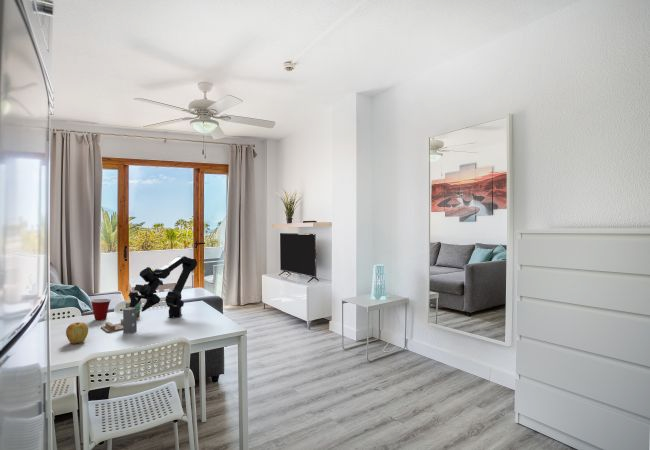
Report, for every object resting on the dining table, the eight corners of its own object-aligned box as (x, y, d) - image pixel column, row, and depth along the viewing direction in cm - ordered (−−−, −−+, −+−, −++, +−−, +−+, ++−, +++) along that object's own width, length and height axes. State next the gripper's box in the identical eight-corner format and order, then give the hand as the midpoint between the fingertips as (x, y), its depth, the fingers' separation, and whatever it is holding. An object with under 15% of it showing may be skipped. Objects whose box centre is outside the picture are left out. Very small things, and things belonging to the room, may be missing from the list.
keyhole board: (127, 323, 216) (127, 318, 216) (135, 327, 208) (135, 321, 208) (100, 328, 206) (100, 322, 206) (107, 332, 198) (107, 327, 198)
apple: (84, 338, 189) (84, 318, 189) (91, 342, 183) (90, 321, 183) (63, 343, 182) (63, 322, 182) (69, 347, 176) (69, 326, 176)
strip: (130, 330, 203) (130, 306, 203) (136, 331, 201) (136, 307, 201) (123, 332, 199) (123, 308, 198) (129, 333, 197) (129, 309, 197)
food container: (135, 320, 223) (135, 303, 223) (125, 320, 223) (124, 303, 223) (145, 314, 235) (145, 299, 235) (136, 314, 235) (135, 299, 235)
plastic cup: (114, 318, 226) (114, 299, 226) (95, 322, 217) (95, 302, 217) (106, 316, 232) (106, 296, 232) (87, 319, 224) (87, 299, 224)
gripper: (131, 277, 211) (113, 300, 201) (156, 279, 205) (139, 303, 194) (142, 289, 219) (126, 312, 209) (167, 291, 212) (151, 315, 202)
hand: (135, 310), depth 203 cm, fingers open, 9 cm apart
